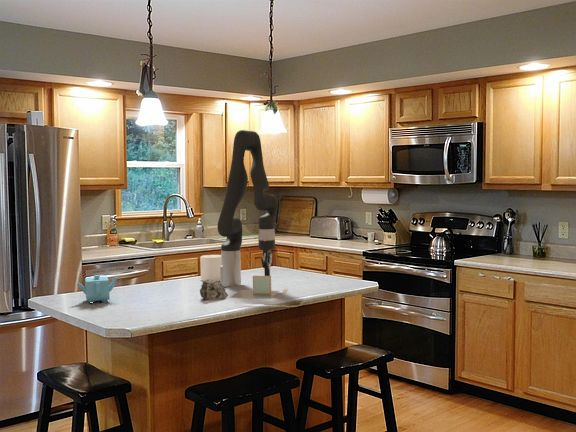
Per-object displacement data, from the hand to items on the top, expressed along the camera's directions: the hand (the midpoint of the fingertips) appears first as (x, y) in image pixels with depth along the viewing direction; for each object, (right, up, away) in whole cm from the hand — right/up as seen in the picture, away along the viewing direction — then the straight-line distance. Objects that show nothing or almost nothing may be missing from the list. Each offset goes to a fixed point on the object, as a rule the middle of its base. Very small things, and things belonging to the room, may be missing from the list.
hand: (267, 276), depth 291 cm
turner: (+8, -7, -6) cm, 12 cm away
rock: (-22, -9, -15) cm, 28 cm away
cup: (-29, -5, +36) cm, 47 cm away
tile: (-2, -7, -9) cm, 11 cm away
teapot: (-72, -9, -16) cm, 74 cm away
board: (-5, -8, -9) cm, 13 cm away
